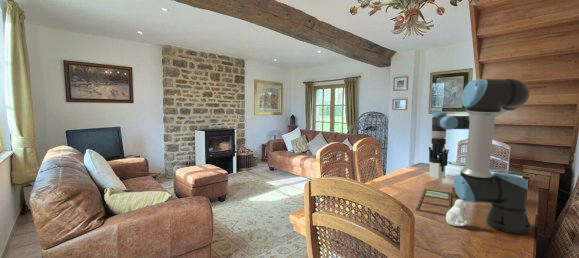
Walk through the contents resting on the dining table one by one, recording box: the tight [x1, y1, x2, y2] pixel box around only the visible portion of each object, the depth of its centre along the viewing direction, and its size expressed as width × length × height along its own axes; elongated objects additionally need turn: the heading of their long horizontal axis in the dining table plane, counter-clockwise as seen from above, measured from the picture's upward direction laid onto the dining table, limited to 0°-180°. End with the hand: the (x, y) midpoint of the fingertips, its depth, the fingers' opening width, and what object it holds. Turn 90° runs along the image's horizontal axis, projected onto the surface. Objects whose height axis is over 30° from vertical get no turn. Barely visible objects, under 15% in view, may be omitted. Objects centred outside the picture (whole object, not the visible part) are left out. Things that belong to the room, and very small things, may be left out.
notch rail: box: [415, 186, 456, 217], centre depth 143 cm, size 43×17×6 cm, turn 147°
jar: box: [428, 156, 446, 180], centre depth 155 cm, size 9×8×12 cm
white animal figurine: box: [445, 198, 471, 227], centre depth 112 cm, size 6×8×12 cm
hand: (437, 175), depth 155 cm, fingers closed on jar, 4 cm apart
